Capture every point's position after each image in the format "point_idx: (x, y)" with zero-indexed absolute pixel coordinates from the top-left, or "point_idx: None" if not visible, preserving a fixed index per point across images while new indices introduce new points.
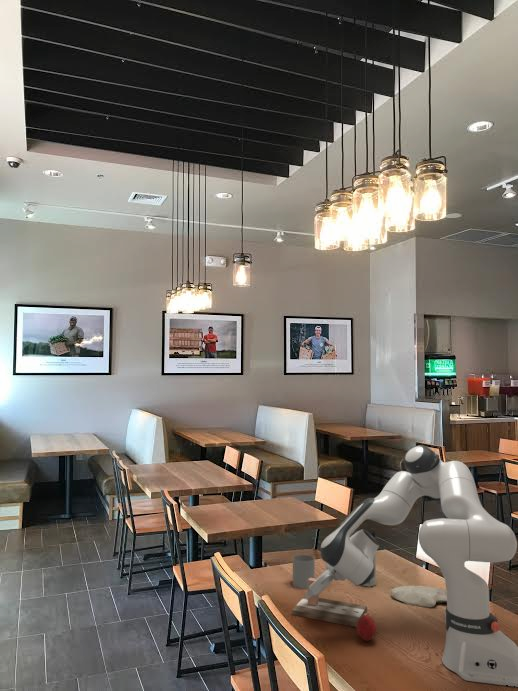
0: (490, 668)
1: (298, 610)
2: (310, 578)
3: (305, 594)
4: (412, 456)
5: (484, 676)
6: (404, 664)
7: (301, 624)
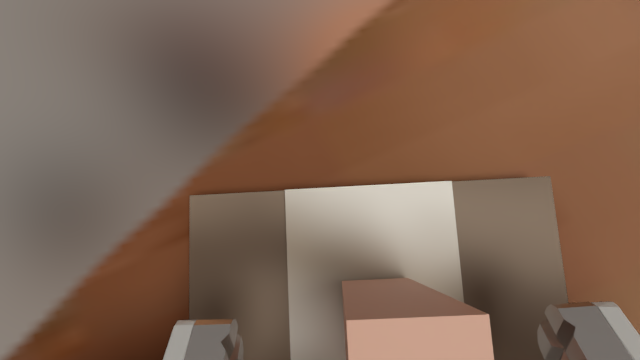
0: None
1: (203, 248)
2: (450, 340)
3: (175, 332)
4: None
5: None
6: None
7: (67, 336)
